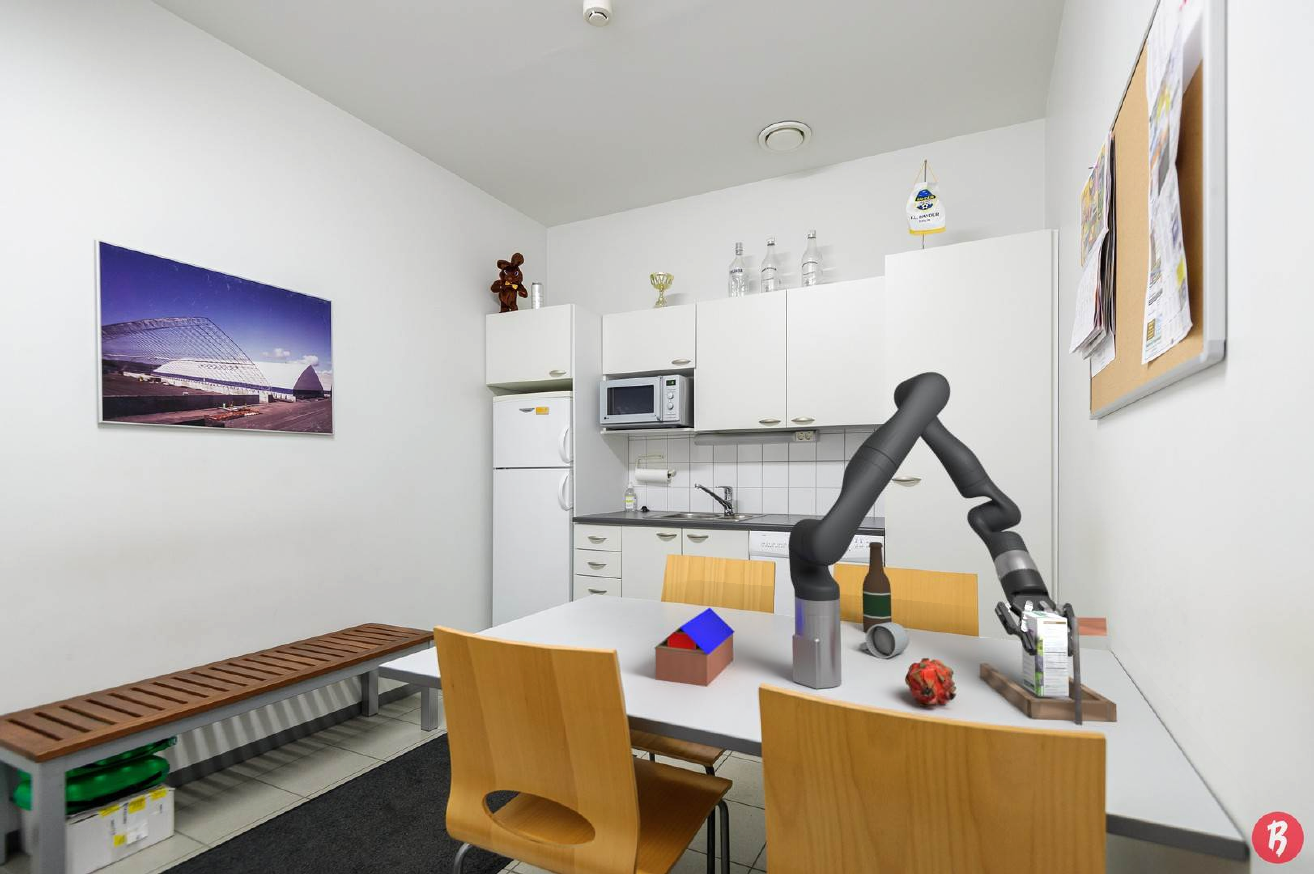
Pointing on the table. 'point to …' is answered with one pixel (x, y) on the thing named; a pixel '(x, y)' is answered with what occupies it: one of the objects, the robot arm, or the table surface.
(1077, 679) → the wooden frame with flag
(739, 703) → the table surface
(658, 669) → the house
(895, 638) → the ceramic mug
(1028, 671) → the syrup box
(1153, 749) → the table surface
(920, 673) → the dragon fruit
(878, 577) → the beer bottle
